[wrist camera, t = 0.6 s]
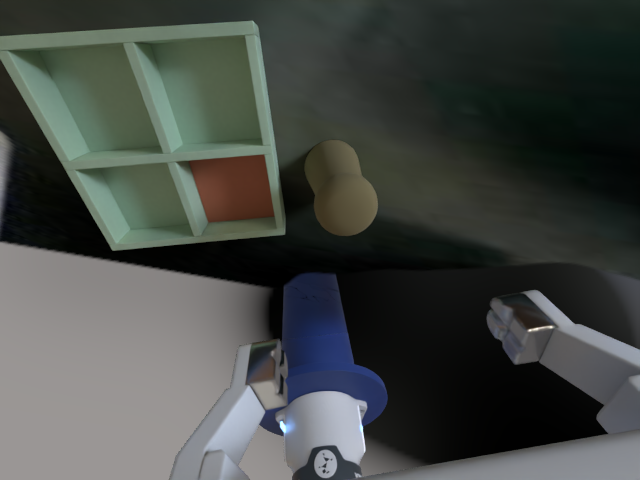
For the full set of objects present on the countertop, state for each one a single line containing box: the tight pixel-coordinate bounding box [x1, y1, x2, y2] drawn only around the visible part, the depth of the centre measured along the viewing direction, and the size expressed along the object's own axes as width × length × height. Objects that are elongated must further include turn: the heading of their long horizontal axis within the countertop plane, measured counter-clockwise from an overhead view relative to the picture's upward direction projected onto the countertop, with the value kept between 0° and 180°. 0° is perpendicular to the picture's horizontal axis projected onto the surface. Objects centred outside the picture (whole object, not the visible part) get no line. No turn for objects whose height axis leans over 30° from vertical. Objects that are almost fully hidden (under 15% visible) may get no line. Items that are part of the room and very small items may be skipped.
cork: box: [305, 140, 378, 236], centre depth 26 cm, size 6×6×11 cm
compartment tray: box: [0, 21, 286, 251], centre depth 26 cm, size 18×18×4 cm
